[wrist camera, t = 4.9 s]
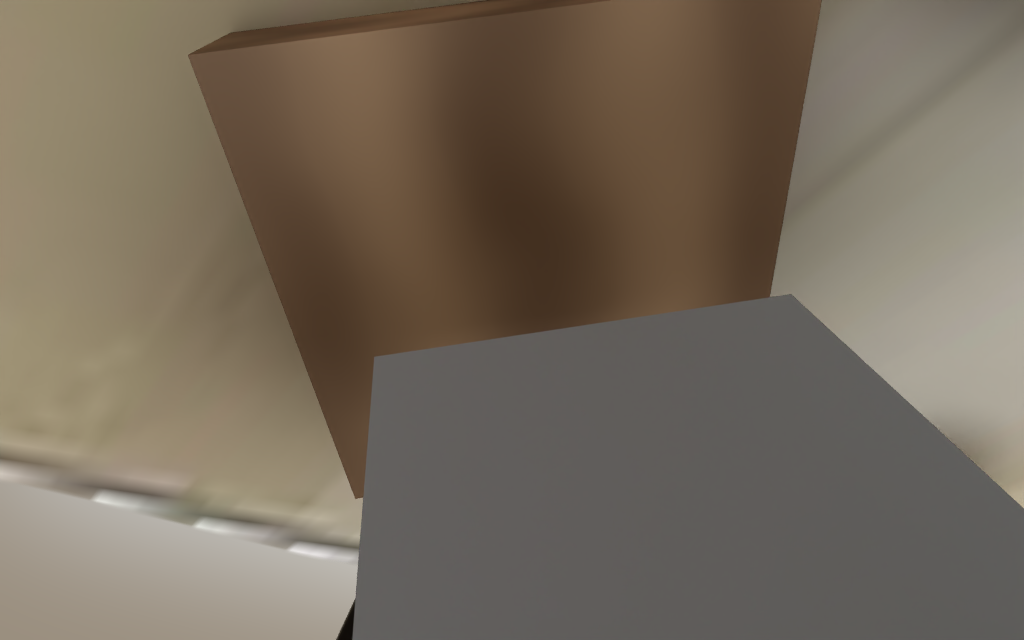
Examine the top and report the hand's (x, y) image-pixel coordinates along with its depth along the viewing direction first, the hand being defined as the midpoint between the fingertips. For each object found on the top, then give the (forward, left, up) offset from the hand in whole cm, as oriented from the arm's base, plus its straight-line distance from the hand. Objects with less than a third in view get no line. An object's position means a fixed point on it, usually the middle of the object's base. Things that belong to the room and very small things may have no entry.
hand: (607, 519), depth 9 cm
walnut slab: (-1, +1, -12) cm, 12 cm away
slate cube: (0, 0, -1) cm, 1 cm away
